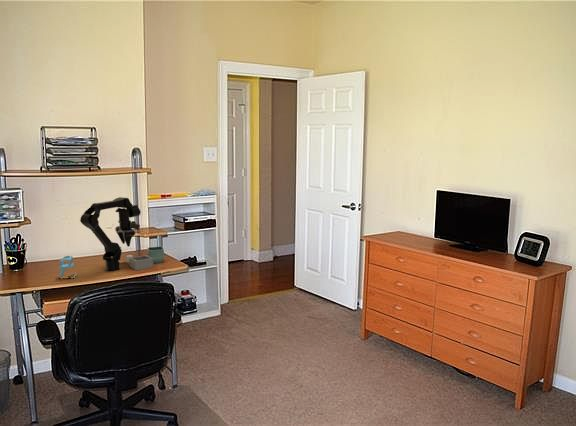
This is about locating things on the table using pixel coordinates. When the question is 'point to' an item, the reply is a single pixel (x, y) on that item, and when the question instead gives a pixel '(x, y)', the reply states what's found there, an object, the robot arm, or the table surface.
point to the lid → (128, 258)
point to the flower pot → (156, 254)
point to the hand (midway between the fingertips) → (126, 245)
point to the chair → (65, 266)
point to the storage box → (141, 262)
